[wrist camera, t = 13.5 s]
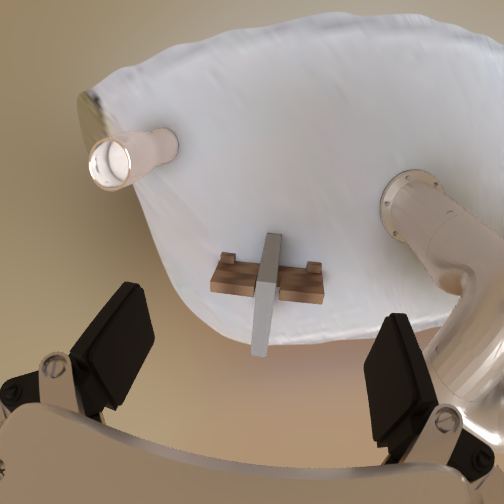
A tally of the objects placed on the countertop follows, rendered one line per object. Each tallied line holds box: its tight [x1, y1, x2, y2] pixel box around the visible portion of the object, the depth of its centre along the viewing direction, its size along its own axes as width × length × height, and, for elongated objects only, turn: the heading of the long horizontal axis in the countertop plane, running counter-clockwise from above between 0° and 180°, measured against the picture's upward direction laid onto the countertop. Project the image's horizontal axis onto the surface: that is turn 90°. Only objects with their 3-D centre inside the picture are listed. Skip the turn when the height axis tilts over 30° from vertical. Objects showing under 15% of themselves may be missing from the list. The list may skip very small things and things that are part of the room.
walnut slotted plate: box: [210, 252, 324, 304], centre depth 46 cm, size 18×5×7 cm, turn 87°
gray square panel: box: [251, 233, 281, 357], centre depth 43 cm, size 2×14×14 cm, turn 177°
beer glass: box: [89, 128, 178, 191], centre depth 34 cm, size 7×7×15 cm
